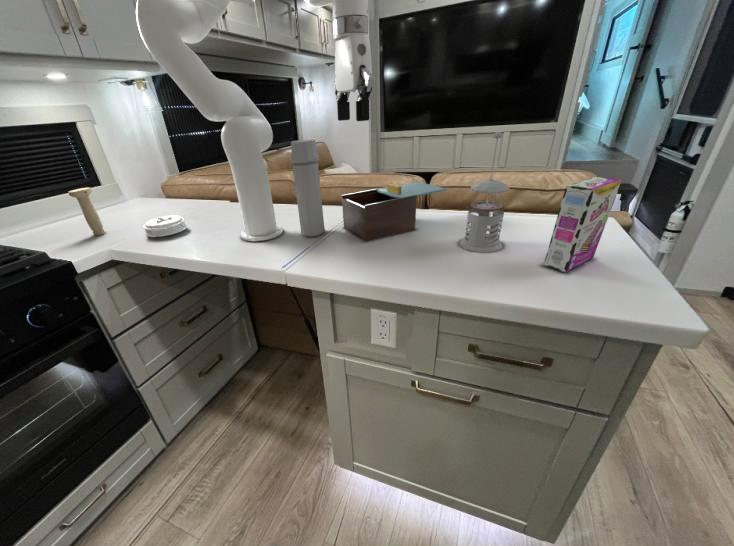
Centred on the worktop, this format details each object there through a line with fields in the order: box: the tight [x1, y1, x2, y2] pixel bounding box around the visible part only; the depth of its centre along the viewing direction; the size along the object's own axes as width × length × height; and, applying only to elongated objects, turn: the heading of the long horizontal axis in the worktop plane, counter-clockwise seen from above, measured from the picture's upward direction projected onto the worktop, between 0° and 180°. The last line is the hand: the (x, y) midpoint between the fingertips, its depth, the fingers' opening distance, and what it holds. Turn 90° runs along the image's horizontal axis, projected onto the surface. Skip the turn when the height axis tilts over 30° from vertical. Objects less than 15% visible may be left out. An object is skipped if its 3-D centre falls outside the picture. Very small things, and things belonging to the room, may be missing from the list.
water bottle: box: [290, 138, 326, 238], centre depth 92 cm, size 9×8×25 cm
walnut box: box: [341, 186, 418, 242], centre depth 95 cm, size 14×16×10 cm
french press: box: [459, 131, 510, 253], centre depth 76 cm, size 10×12×25 cm
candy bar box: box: [542, 176, 623, 273], centre depth 65 cm, size 11×5×16 cm, turn 123°
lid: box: [142, 214, 188, 238], centre depth 108 cm, size 13×13×5 cm
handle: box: [67, 187, 105, 236], centre depth 111 cm, size 5×6×15 cm
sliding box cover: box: [377, 181, 447, 199], centre depth 95 cm, size 13×15×3 cm
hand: (352, 120), depth 80 cm, fingers open, 9 cm apart
